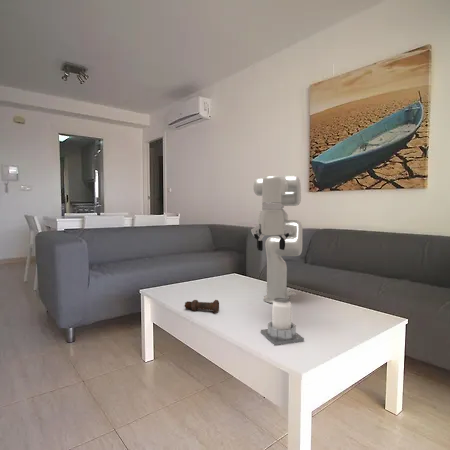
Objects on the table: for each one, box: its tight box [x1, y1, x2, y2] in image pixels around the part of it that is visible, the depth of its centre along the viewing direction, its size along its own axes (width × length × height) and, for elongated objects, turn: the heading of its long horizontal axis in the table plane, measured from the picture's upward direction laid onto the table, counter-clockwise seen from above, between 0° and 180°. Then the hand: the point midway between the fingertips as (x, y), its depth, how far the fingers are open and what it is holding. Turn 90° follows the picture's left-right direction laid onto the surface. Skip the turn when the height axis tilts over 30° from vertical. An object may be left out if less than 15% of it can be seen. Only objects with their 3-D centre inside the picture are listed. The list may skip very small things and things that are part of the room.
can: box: [271, 298, 292, 330], centre depth 106 cm, size 6×6×12 cm
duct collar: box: [260, 320, 305, 346], centre depth 106 cm, size 11×11×4 cm
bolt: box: [184, 299, 220, 314], centre depth 134 cm, size 6×5×15 cm
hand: (271, 249), depth 122 cm, fingers open, 9 cm apart
